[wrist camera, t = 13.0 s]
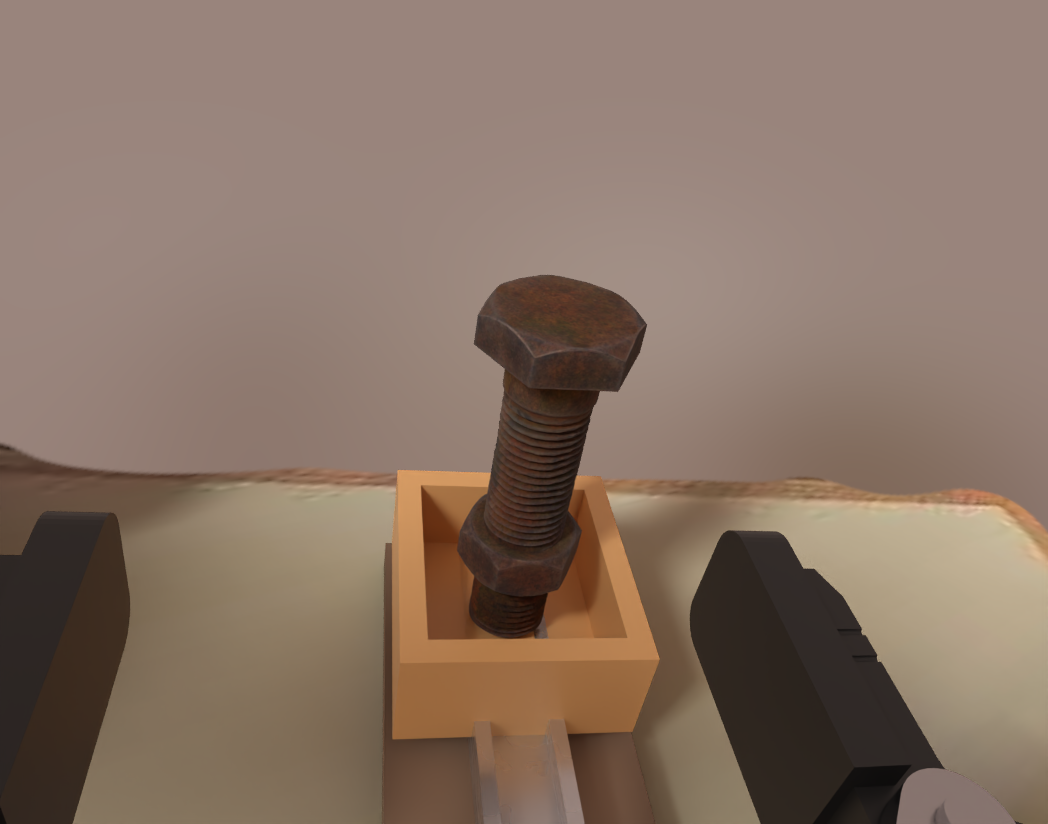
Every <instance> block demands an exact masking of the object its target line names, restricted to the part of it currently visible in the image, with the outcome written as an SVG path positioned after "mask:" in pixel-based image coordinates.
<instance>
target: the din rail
mask: <svg viewBox="0 0 1048 824" xmlns="http://www.w3.org/2000/svg"><path fill="white" fill-rule="evenodd" d="M460 558H461V557H460ZM462 562H463V561H462ZM462 566H463V563H462ZM460 568H462V567H460ZM464 570H465V568H464ZM465 572H466V571H465ZM460 573H461V572H460ZM465 574H466V573H465ZM464 577H465V576H464ZM467 577H468V575H467V576H466V578H467ZM473 578H474V577H473ZM467 580H468V578H467ZM467 580H466V581H464V582H467ZM473 580H474V579H473ZM469 583H470V584H471V583H472V580H471V582H470V581H469ZM465 585H466V584H465ZM468 587H469V586H468ZM468 587H467V589H469V588H468ZM463 588H464V587H463ZM471 589H472V588H471ZM462 590H463V589H462ZM471 591H472V590H471ZM464 593H465V592H464ZM469 595H470V594H469ZM466 597H467V596H466ZM469 599H470V598H469ZM465 601H466V600H465ZM465 601H464V602H465ZM464 602H463V603H464ZM465 605H466V604H465ZM467 612H468V611H467ZM467 612H466V613H467ZM466 615H467V616H468V614H466ZM467 616H466V617H467ZM544 618H545V617H544V614H543V618H542V621H544V623H543V622H541V623H542V624H540V625H539V628H540V629H541V630H540V629H539V628H537V629H536V630H534V635H535V634H536V633H539V634H536V635H535V639H540V638H541V639H545V637H546V635H547V634H548V633H547V629H545V626H546V623H545V619H544ZM470 621H471V620H470ZM468 622H469V621H468ZM469 623H470V622H469ZM472 623H473V622H472ZM470 624H471V623H470ZM472 626H474V625H472ZM472 626H471V627H472ZM542 626H543V627H542ZM467 627H468V624H467ZM541 627H542V628H541ZM544 629H545V631H543V630H544ZM537 630H538V632H535V631H537ZM541 631H543V633H542V632H541ZM469 632H470V631H469ZM545 632H546V633H545ZM476 633H477V632H476ZM540 634H541V635H542V636H538V635H540ZM544 634H545V635H544ZM466 635H467V634H466ZM472 636H473V635H472ZM547 636H548V635H547ZM537 637H538V638H537ZM546 639H549V638H548V637H547V638H546ZM468 743H469V755H470V767H471V778H472V790H473V802H474V813H475V824H585V823H584V818H583V813H582V808H581V802H580V797H579V792H578V787H577V782H576V777H575V772H574V766H573V761H572V756H571V751H570V746H569V741H568V736H567V730H566V725H565V720H564V719H549V721H548V725H547V729H546V732H545V735H517V736H492V734H491V725H490V721H474V726H473V731H472V736H471V737H468Z"/></svg>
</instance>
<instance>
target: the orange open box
mask: <svg viewBox="0 0 1048 824" xmlns="http://www.w3.org/2000/svg"><path fill="white" fill-rule="evenodd" d="M490 475H491V473H476V472H442V471H411V470H398V473H397V486H396V498H395V511H394V523H393V536H392V739H423V738H454V737H471V736H472V731H473V726H474V721H490V725H491V734H492V736H517V735H545V732H546V729H547V725H548V721H549V719H564V720H565V725H566V730H567V734H580V733H611V732H633V729H634V727H635V724H636V721H637V719H638V716H639V713H640V711H641V708H642V706H643V703H644V700H645V698H646V695H647V692H648V690H649V687H650V684H651V682H652V679H653V676H654V674H655V671H656V669H657V666H658V663H659V661H660V658H659V655H658V652H657V649H656V646H655V643H654V640H653V637H652V634H651V630H650V627H649V624H648V621H647V618H646V615H645V612H644V609H643V606H642V603H641V599H640V596H639V593H638V590H637V587H636V584H635V581H634V578H633V575H632V572H631V569H630V565H629V562H628V559H627V556H626V553H625V550H624V547H623V544H622V541H621V538H620V534H619V531H618V528H617V525H616V522H615V519H614V516H613V513H612V510H611V507H610V503H609V500H608V497H607V494H606V491H605V488H604V485H603V482H602V479H601V477H600V476H576V480H575V485H574V489H573V492H572V497H571V500H570V505H569V509H568V511H569V513H570V514H571V515H572V516H573V518H574V519H575V521H576V522H577V524H578V525H579V527H580V528H581V530H582V533H581V536H580V540H579V544H578V548H577V551H576V554H575V556H574V559H573V561H572V564H571V566H570V568H569V570H568V573H567V575H566V577H565V579H564V581H563V583H562V584H561V586H560V587H559V589H558V590H556V591H552V592H549V593H548V596H547V599H546V604H545V607H544V613H543V614H544V617H545V618H544V619H545V623H546V626H545V629H547V633H548V634H547V635H548V636H547V635H546V637H545V639H541V638H540V639H535V635H536V634H539V633H536V634H535V635H534V631H533V632H531V633H529V634H526V635H522V636H518V637H512V638H505V637H498V636H495V635H492V634H490V633H488V632H486V631H484V630H483V629H481V628H480V627H478V626H477V625H476V624H475V623H474V622H473V621H472V619H471V617H470V614H469V603H470V599H469V598H470V597H471V593H472V591H471V590H472V589H471V588H472V586H473V579H474V578H473V577H474V575H473V574H472V573H471V571H470V570H469V569H468V568H467V566H466V565H465V563H464V562H462V561H463V560H462V558H460V555H459V553H458V552H457V547H458V540H459V533H460V529H461V527H462V525H463V523H464V521H465V519H466V517H467V516H468V514H469V512H470V511H471V509H472V507H473V506H474V504H475V503H476V502H477V501H478V500H479V499H480V498H481V497H482V496H483V495H485V494H487V492H488V485H489V480H490ZM462 563H463V566H462ZM460 567H462V568H460ZM464 568H465V570H464ZM465 571H466V572H465ZM460 572H461V573H460ZM465 573H466V574H465ZM467 575H468V577H467V578H468V580H467V578H466V576H467ZM464 576H465V577H464ZM466 580H467V582H464V581H466ZM471 580H472V583H471V584H470V583H469V581H470V582H471ZM465 584H466V585H465ZM468 586H469V587H468ZM463 587H464V588H463ZM467 587H468V588H469V589H467ZM462 589H463V590H462ZM464 592H465V593H464ZM469 594H470V595H469ZM466 596H467V597H466ZM465 600H466V601H465ZM464 601H465V602H464ZM463 602H464V603H463ZM465 604H466V605H465ZM467 611H468V612H467ZM466 612H467V613H466ZM466 614H468V616H467V615H466ZM466 616H467V617H466ZM470 620H471V621H470ZM468 621H469V622H470V623H471V624H470V623H469V622H468ZM472 622H473V623H472ZM541 622H543V623H544V621H541ZM467 624H468V627H467ZM540 624H542V623H540ZM472 625H474V626H472ZM471 626H472V627H471ZM542 627H543V626H542ZM542 627H541V628H542ZM538 628H539V626H538ZM539 629H540V628H539ZM545 629H544V630H543V631H545ZM540 630H541V629H540ZM469 631H470V632H469ZM543 631H541V632H542V633H543ZM476 632H477V633H476ZM535 632H538V630H537V631H535ZM545 633H546V632H545ZM466 634H467V635H466ZM472 635H473V636H472ZM544 635H545V634H544ZM538 636H542V635H541V634H540V635H538ZM547 637H548V638H549V639H546V638H547ZM537 638H538V637H537Z"/></svg>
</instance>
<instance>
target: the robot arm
mask: <svg viewBox="0 0 1048 824" xmlns="http://www.w3.org/2000/svg"><path fill="white" fill-rule="evenodd" d="M129 617H130V596H129V588H128V582H127V575H126V569H125V562H124V556H123V550H122V543H121V537H120V530H119V524H118V520H117V517H116V515H115V514H114V513H94V512H55V511H46V512H44V513H43V514H42V515H41V516H40V518H39V519H38V521H37V523H36V525H35V527H34V529H33V531H32V533H31V535H30V538H29V540H28V542H27V544H26V546H25V548H24V550H23V553H22V555H0V824H72V823H73V820H74V816H75V813H76V810H77V806H78V803H79V799H80V796H81V793H82V789H83V786H84V783H85V779H86V776H87V772H88V769H89V766H90V762H91V759H92V755H93V752H94V749H95V745H96V742H97V739H98V735H99V732H100V728H101V725H102V722H103V718H104V715H105V711H106V708H107V705H108V701H109V698H110V695H111V691H112V688H113V684H114V681H115V678H116V674H117V671H118V667H119V664H120V661H121V657H122V654H123V651H124V647H125V643H126V639H127V633H128V627H129ZM861 630H862V628H861V627H860V625H859V623H858V621H857V620H856V618H855V616H854V615H853V613H852V611H851V610H850V608H849V606H848V604H847V603H846V601H845V599H844V598H843V596H842V595H841V594H840V593H839V592H837V591H836V590H835V589H834V588H833V587H832V586H831V585H830V584H829V583H828V582H827V581H826V580H825V579H824V578H823V577H822V576H821V575H820V574H819V573H818V572H817V571H816V570H815V569H803V567H802V565H801V564H800V562H799V560H798V558H797V556H796V555H795V553H794V551H793V549H792V547H791V546H790V544H789V542H788V540H787V539H786V538H785V537H784V535H782V534H781V533H779V532H770V531H726V532H725V533H723V535H722V536H721V537H720V539H719V541H718V543H717V546H716V548H715V550H714V553H713V555H712V557H711V559H710V562H709V564H708V566H707V569H706V571H705V573H704V575H703V578H702V580H701V582H700V585H699V587H698V589H697V591H696V594H695V596H694V598H693V601H692V605H691V610H690V631H691V637H692V641H693V644H694V647H695V650H696V652H697V655H698V658H699V660H700V663H701V666H702V668H703V671H704V674H705V676H706V679H707V682H708V684H709V687H710V690H711V692H712V695H713V698H714V700H715V703H716V706H717V708H718V711H719V714H720V716H721V719H722V722H723V724H724V727H725V730H726V732H727V735H728V738H729V740H730V743H731V746H732V748H733V751H734V754H735V756H736V759H737V762H738V764H739V767H740V770H741V772H742V775H743V778H744V780H745V783H746V786H747V788H748V791H749V794H750V796H751V799H752V802H753V804H754V807H755V810H756V812H757V815H758V818H759V820H760V823H761V824H1022V823H1018V822H1016V821H1014V820H1013V819H1012V817H1011V816H1010V814H1009V813H1008V812H1007V810H1006V809H1005V808H1004V807H1003V806H1002V805H1001V804H1000V803H999V802H998V800H996V799H995V798H994V797H993V796H992V795H991V794H990V793H989V792H988V791H986V790H985V789H984V788H982V787H981V786H979V785H978V784H977V783H975V782H973V781H972V780H970V779H968V778H966V777H964V776H962V775H960V774H958V773H955V772H952V771H949V770H945V769H944V767H943V766H942V764H941V763H940V761H939V760H938V758H937V757H936V755H935V753H934V751H933V750H932V748H931V746H930V745H929V743H928V741H927V739H926V738H925V736H924V734H923V733H922V731H921V729H920V727H919V726H918V724H917V722H916V721H915V719H914V717H913V716H912V714H911V712H910V710H909V709H908V707H907V705H906V704H905V702H904V700H903V698H902V697H901V695H900V693H899V692H898V690H897V688H896V686H895V685H894V683H893V681H892V680H891V678H890V676H889V674H888V673H887V671H886V669H885V668H884V666H883V664H882V663H881V662H878V661H877V654H876V652H875V651H874V649H873V647H872V645H871V644H870V642H869V640H868V639H867V637H866V635H862V633H861Z"/></svg>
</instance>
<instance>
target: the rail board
mask: <svg viewBox="0 0 1048 824" xmlns="http://www.w3.org/2000/svg"><path fill="white" fill-rule="evenodd" d="M567 736H568V741H569V746H570V751H571V756H572V761H573V766H574V772H575V777H576V782H577V787H578V792H579V797H580V802H581V808H582V813H583V818H584V823H585V824H655V820H654V817H653V813H652V809H651V805H650V802H649V798H648V794H647V790H646V787H645V783H644V779H643V775H642V771H641V768H640V764H639V760H638V756H637V753H636V749H635V745H634V741H633V738H632V734H631V732H611V733H580V734H567ZM382 824H475V813H474V802H473V790H472V778H471V767H470V755H469V743H468V737H454V738H423V739H392V543H386V548H385V562H384V660H383V784H382Z"/></svg>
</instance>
